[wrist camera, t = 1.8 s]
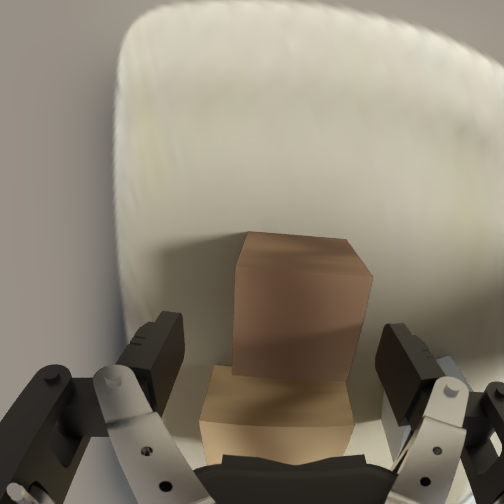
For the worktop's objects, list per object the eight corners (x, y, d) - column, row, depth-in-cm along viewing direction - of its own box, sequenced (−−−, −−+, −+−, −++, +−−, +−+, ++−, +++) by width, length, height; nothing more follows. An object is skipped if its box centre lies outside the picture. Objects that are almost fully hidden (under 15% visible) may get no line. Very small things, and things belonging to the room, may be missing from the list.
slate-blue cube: (448, 354, 17) (479, 401, 13) (438, 401, 19) (460, 447, 14) (384, 372, 18) (405, 426, 13) (380, 418, 19) (395, 469, 15)
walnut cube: (345, 238, 15) (373, 277, 11) (331, 323, 17) (346, 381, 12) (248, 230, 16) (235, 266, 11) (243, 317, 17) (231, 374, 13)
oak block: (341, 367, 18) (355, 425, 13) (322, 440, 21) (327, 490, 16) (215, 362, 19) (198, 420, 14) (221, 436, 21) (211, 487, 16)
